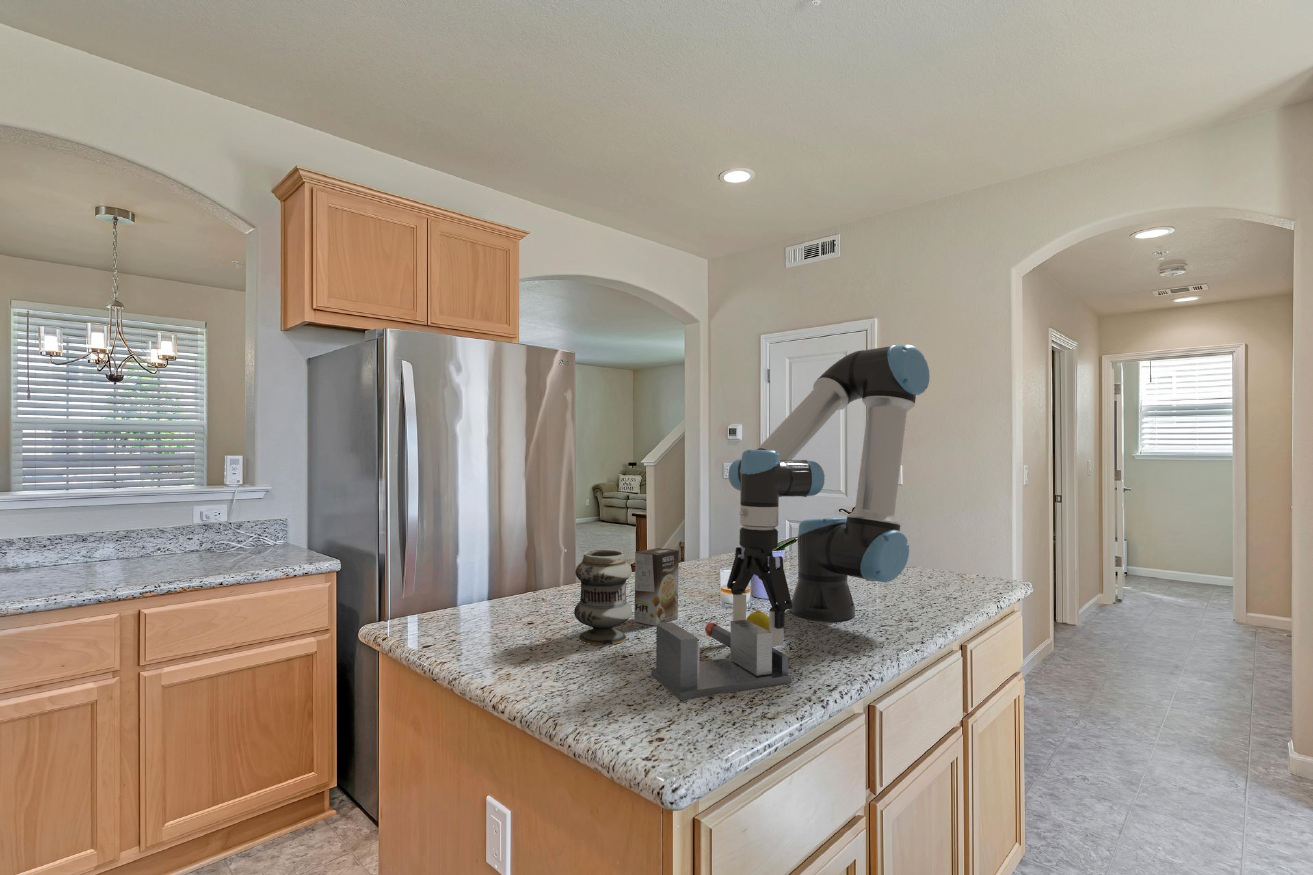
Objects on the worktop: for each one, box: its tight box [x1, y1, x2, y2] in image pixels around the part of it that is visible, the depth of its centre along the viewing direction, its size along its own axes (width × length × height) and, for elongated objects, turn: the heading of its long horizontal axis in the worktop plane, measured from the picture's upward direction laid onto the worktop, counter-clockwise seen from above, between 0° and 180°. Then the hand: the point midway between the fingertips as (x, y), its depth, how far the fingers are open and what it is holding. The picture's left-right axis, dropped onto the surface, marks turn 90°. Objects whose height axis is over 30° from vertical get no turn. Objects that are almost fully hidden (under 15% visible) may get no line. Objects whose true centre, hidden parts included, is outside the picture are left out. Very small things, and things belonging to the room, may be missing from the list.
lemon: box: [746, 609, 769, 631], centre depth 128 cm, size 6×6×8 cm
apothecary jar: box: [573, 548, 633, 646], centre depth 135 cm, size 12×12×18 cm
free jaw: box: [704, 620, 773, 676], centre depth 119 cm, size 3×20×7 cm, turn 23°
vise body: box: [650, 621, 792, 701], centre depth 112 cm, size 21×12×9 cm, turn 113°
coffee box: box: [633, 547, 680, 627], centre depth 150 cm, size 9×6×16 cm
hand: (756, 635), depth 127 cm, fingers open, 13 cm apart
